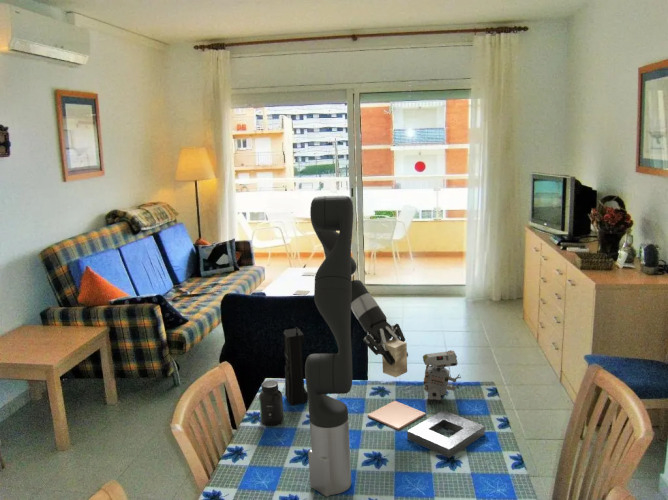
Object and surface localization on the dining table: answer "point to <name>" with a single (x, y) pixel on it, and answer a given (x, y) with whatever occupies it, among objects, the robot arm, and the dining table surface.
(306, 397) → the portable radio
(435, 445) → the socket block
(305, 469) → the dining table surface
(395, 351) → the beech peg
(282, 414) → the supplement bottle
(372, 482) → the dining table surface
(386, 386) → the dining table surface
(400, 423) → the terracotta tile
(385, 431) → the dining table surface
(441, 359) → the figurine
